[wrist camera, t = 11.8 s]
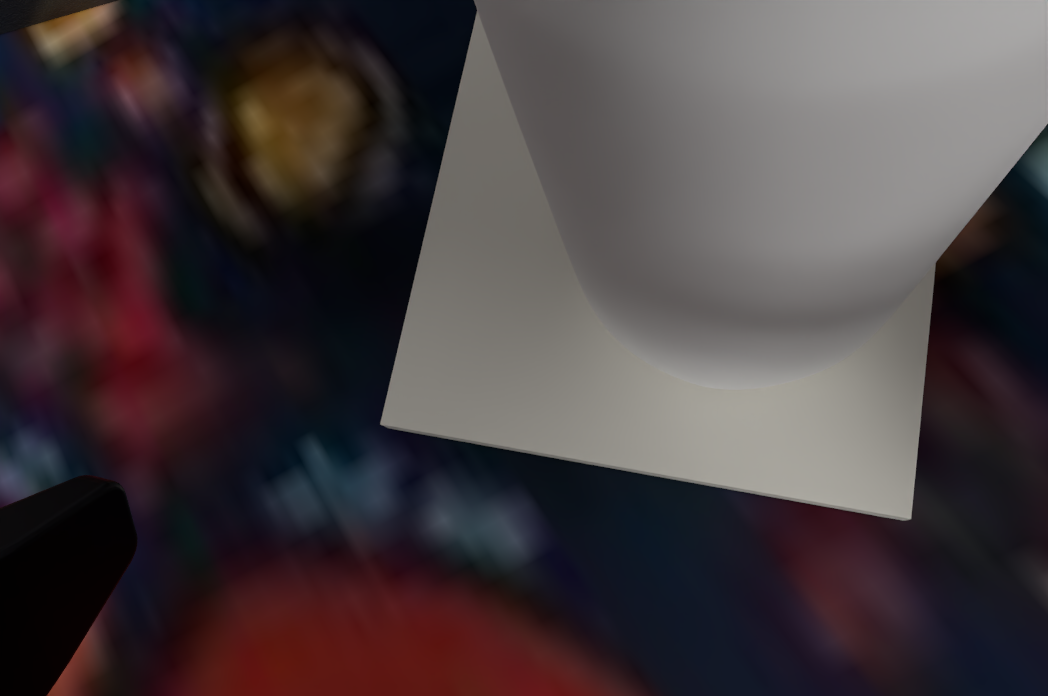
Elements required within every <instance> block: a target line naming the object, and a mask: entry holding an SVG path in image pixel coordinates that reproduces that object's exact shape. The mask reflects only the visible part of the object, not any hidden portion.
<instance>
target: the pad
mask: <svg viewBox="0 0 1048 696" xmlns="http://www.w3.org/2000/svg"><path fill="white" fill-rule="evenodd" d="M935 267H936V263H935V264H934V265H933V266H932V267H931V269H930V270H929V271H928V272H927V274H926V275H925V276H924V277H923V278H922V280H921V281H920V282H919V283H918V285H917V286H916V287H915V288H914V289H913V291H912V292H911V293H910V294H909V295H908V297H907V298H906V299H905V300H904V301H903V303H902V304H901V305H900V306H899V307H898V309H897V310H896V311H895V312H894V313H893V314H892V316H891V317H890V318H889V319H888V320H887V321H886V323H885V324H884V325H883V326H882V327H881V328H880V329H879V330H878V331H877V332H876V333H875V334H874V335H873V336H872V337H871V338H870V339H869V340H868V341H867V342H866V343H865V344H863V345H862V346H861V347H860V348H859V349H857V350H856V351H855V352H853V353H852V354H851V355H849V356H848V357H846V358H845V359H843V360H842V361H840V362H839V363H837V364H835V365H833V366H831V367H830V368H828V369H825V370H823V371H821V372H819V373H816V374H814V375H811V376H808V377H805V378H802V379H799V380H795V381H792V382H788V383H784V384H780V385H775V386H770V387H764V388H756V389H743V390H727V389H715V388H708V387H703V386H699V385H696V384H692V383H689V382H687V381H684V380H681V379H679V378H676V377H674V376H671V375H669V374H667V373H665V372H663V371H660V370H658V369H657V368H655V367H653V366H651V365H649V364H648V363H646V362H644V361H643V360H641V359H640V358H638V357H637V356H636V355H634V354H633V353H632V352H630V351H629V350H628V349H627V348H625V347H624V346H623V345H622V344H621V343H620V342H619V341H618V340H617V339H616V338H615V337H614V336H613V335H612V334H611V333H610V332H609V331H608V329H607V328H606V327H605V326H604V325H603V323H602V322H601V321H600V319H599V318H598V316H597V315H596V313H595V312H594V310H593V309H592V307H591V305H590V304H589V302H588V300H587V298H586V296H585V294H584V292H583V290H582V288H581V285H580V283H579V281H578V278H577V276H576V273H575V271H574V268H573V266H572V263H571V261H570V258H569V256H568V253H567V251H566V248H565V245H564V243H563V240H562V238H561V235H560V232H559V230H558V227H557V225H556V222H555V219H554V217H553V214H552V211H551V209H550V206H549V203H548V201H547V198H546V195H545V193H544V190H543V187H542V185H541V182H540V179H539V177H538V174H537V171H536V169H535V166H534V163H533V161H532V158H531V155H530V152H529V150H528V147H527V144H526V142H525V139H524V136H523V134H522V131H521V128H520V126H519V123H518V120H517V118H516V115H515V112H514V109H513V107H512V104H511V101H510V99H509V96H508V93H507V90H506V88H505V85H504V82H503V79H502V77H501V74H500V71H499V69H498V66H497V63H496V60H495V58H494V55H493V52H492V49H491V47H490V44H489V41H488V39H487V36H486V33H485V30H484V28H483V25H482V22H481V19H480V16H479V14H478V11H477V14H476V18H475V22H474V27H473V31H472V35H471V39H470V44H469V48H468V52H467V56H466V61H465V65H464V69H463V73H462V78H461V82H460V86H459V91H458V95H457V99H456V103H455V108H454V112H453V116H452V120H451V125H450V129H449V133H448V137H447V142H446V146H445V150H444V154H443V159H442V163H441V167H440V171H439V176H438V180H437V184H436V189H435V193H434V197H433V201H432V206H431V210H430V214H429V218H428V223H427V227H426V231H425V235H424V240H423V244H422V248H421V252H420V257H419V261H418V265H417V269H416V274H415V278H414V282H413V287H412V291H411V295H410V299H409V304H408V308H407V312H406V316H405V321H404V325H403V329H402V333H401V338H400V342H399V346H398V350H397V355H396V359H395V363H394V367H393V372H392V376H391V380H390V384H389V389H388V393H387V397H386V402H385V406H384V410H383V414H382V419H381V423H380V425H383V426H385V427H387V428H390V429H395V430H401V431H406V432H412V433H417V434H423V435H429V436H434V437H440V438H445V439H451V440H457V441H462V442H468V443H473V444H479V445H484V446H490V447H496V448H501V449H507V450H512V451H518V452H524V453H529V454H535V455H540V456H546V457H551V458H557V459H563V460H568V461H574V462H579V463H585V464H591V465H596V466H602V467H607V468H613V469H618V470H624V471H630V472H635V473H641V474H646V475H652V476H658V477H663V478H669V479H674V480H680V481H685V482H691V483H697V484H702V485H708V486H713V487H719V488H725V489H730V490H736V491H741V492H747V493H752V494H758V495H764V496H769V497H775V498H780V499H786V500H792V501H797V502H803V503H808V504H814V505H819V506H825V507H831V508H836V509H842V510H847V511H853V512H859V513H864V514H870V515H875V516H881V517H886V518H892V519H898V520H903V521H905V520H909V519H911V514H912V504H913V493H914V483H915V473H916V462H917V452H918V442H919V432H920V421H921V411H922V401H923V390H924V380H925V370H926V360H927V349H928V339H929V329H930V318H931V308H932V298H933V287H934V277H935Z"/></svg>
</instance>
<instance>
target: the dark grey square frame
mask: <svg viewBox="0 0 1048 696" xmlns="http://www.w3.org/2000/svg"><path fill="white" fill-rule="evenodd" d="M114 1H117V0H0V34H3V33H6V32H10V31H13V30H17V29H20V28H24V27H27V26H31V25H34V24H38V23H41V22H44V21H48V20H51V19H55V18H58V17H62V16H65V15H69V14H72V13H76V12H79V11H83V10H86V9H89V8H93V7H96V6H100V5H103V4H107V3H110V2H114Z"/></svg>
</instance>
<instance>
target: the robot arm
mask: <svg viewBox="0 0 1048 696" xmlns="http://www.w3.org/2000/svg"><path fill="white" fill-rule="evenodd" d="M136 547H137V533H136V530H135V526H134V522H133V519H132V515H131V511H130V508H129V504H128V500H127V497H126V493H125V491H124V489H123V487H122V486H121V485H120V484H119V483H117V482H115V481H111V480H107V479H103V478H99V477H95V476H90V475H84V476H79V477H76V478H74V479H71V480H69V481H66V482H64V483H61V484H59V485H56V486H54V487H51V488H49V489H46V490H44V491H41V492H39V493H36V494H34V495H32V496H29V497H27V498H24V499H22V500H19V501H17V502H14V503H12V504H9V505H7V506H4V507H2V508H0V696H46V695H47V694H48V693H49V691H50V690H51V688H52V687H53V686H54V684H55V683H56V681H57V680H58V678H59V677H60V675H61V674H62V672H63V671H64V669H65V668H66V666H67V665H68V663H69V662H70V660H71V658H72V657H73V655H74V653H75V652H76V650H77V649H78V647H79V645H80V644H81V642H82V640H83V639H84V637H85V636H86V634H87V632H88V631H89V629H90V627H91V626H92V624H93V623H94V621H95V619H96V618H97V616H98V614H99V613H100V611H101V610H102V608H103V606H104V605H105V603H106V601H107V600H108V598H109V597H110V595H111V593H112V592H113V590H114V588H115V587H116V585H117V584H118V582H119V580H120V579H121V577H122V575H123V574H124V572H125V571H126V569H127V567H128V566H129V564H130V562H131V561H132V559H133V556H134V554H135V551H136Z"/></svg>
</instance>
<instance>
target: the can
mask: <svg viewBox="0 0 1048 696" xmlns="http://www.w3.org/2000/svg"><path fill="white" fill-rule="evenodd" d="M474 2H475V5H476V8H477V11H478V14H479V16H480V19H481V22H482V25H483V28H484V30H485V33H486V36H487V39H488V41H489V44H490V47H491V49H492V52H493V55H494V58H495V60H496V63H497V66H498V69H499V71H500V74H501V77H502V79H503V82H504V85H505V88H506V90H507V93H508V96H509V99H510V101H511V104H512V107H513V109H514V112H515V115H516V118H517V120H518V123H519V126H520V128H521V131H522V134H523V136H524V139H525V142H526V144H527V147H528V150H529V152H530V155H531V158H532V161H533V163H534V166H535V169H536V171H537V174H538V177H539V179H540V182H541V185H542V187H543V190H544V193H545V195H546V198H547V201H548V203H549V206H550V209H551V211H552V214H553V217H554V219H555V222H556V225H557V227H558V230H559V232H560V235H561V238H562V240H563V243H564V245H565V248H566V251H567V253H568V256H569V258H570V261H571V263H572V266H573V268H574V271H575V273H576V276H577V278H578V281H579V283H580V285H581V288H582V290H583V292H584V294H585V296H586V298H587V300H588V302H589V304H590V305H591V307H592V309H593V310H594V312H595V313H596V315H597V316H598V318H599V319H600V321H601V322H602V323H603V325H604V326H605V327H606V328H607V329H608V331H609V332H610V333H611V334H612V335H613V336H614V337H615V338H616V339H617V340H618V341H619V342H620V343H621V344H622V345H623V346H624V347H625V348H627V349H628V350H629V351H630V352H632V353H633V354H634V355H636V356H637V357H638V358H640V359H641V360H643V361H644V362H646V363H648V364H649V365H651V366H653V367H655V368H657V369H658V370H660V371H663V372H665V373H667V374H669V375H671V376H674V377H676V378H679V379H681V380H684V381H687V382H689V383H692V384H696V385H699V386H703V387H708V388H715V389H727V390H743V389H756V388H764V387H770V386H775V385H780V384H784V383H788V382H792V381H795V380H799V379H802V378H805V377H808V376H811V375H814V374H816V373H819V372H821V371H823V370H825V369H828V368H830V367H831V366H833V365H835V364H837V363H839V362H840V361H842V360H843V359H845V358H846V357H848V356H849V355H851V354H852V353H853V352H855V351H856V350H857V349H859V348H860V347H861V346H862V345H863V344H865V343H866V342H867V341H868V340H869V339H870V338H871V337H872V336H873V335H874V334H875V333H876V332H877V331H878V330H879V329H880V328H881V327H882V326H883V325H884V324H885V323H886V321H887V320H888V319H889V318H890V317H891V316H892V314H893V313H894V312H895V311H896V310H897V309H898V307H899V306H900V305H901V304H902V303H903V301H904V300H905V299H906V298H907V297H908V295H909V294H910V293H911V292H912V291H913V289H914V288H915V287H916V286H917V285H918V283H919V282H920V281H921V280H922V278H923V277H924V276H925V275H926V274H927V272H928V271H929V270H930V269H931V267H932V266H933V265H934V264H935V263H936V261H937V260H938V259H939V258H940V256H941V255H942V254H943V253H944V252H945V250H946V249H947V248H948V247H949V245H950V244H951V243H952V242H953V240H954V239H955V238H956V237H957V236H958V234H959V233H960V232H961V231H962V229H963V228H964V227H965V226H966V224H967V223H968V222H969V221H970V220H971V218H972V217H973V216H974V215H975V213H976V212H977V211H978V210H979V208H980V207H981V206H982V205H983V203H984V202H985V201H986V200H987V198H988V197H989V196H990V195H991V193H992V192H993V191H994V190H995V189H996V187H997V186H998V185H999V184H1000V182H1001V181H1002V180H1003V179H1004V177H1005V176H1006V175H1007V174H1008V172H1009V171H1010V170H1011V169H1012V167H1013V166H1014V165H1015V164H1016V163H1017V161H1018V160H1019V159H1020V158H1021V156H1022V155H1023V154H1024V153H1025V151H1026V150H1027V149H1028V148H1029V146H1030V145H1031V144H1032V143H1033V141H1034V140H1035V139H1036V138H1037V136H1038V135H1039V134H1040V133H1041V131H1042V130H1043V129H1044V128H1045V126H1046V125H1047V124H1048V0H474Z"/></svg>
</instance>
